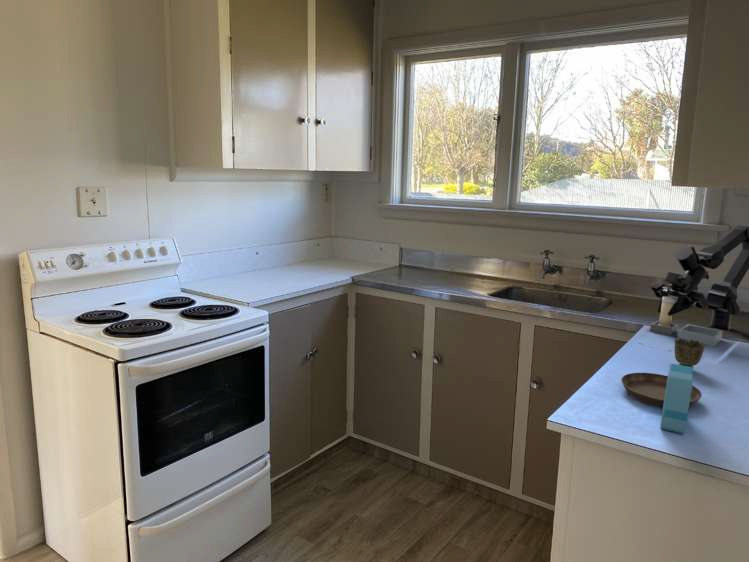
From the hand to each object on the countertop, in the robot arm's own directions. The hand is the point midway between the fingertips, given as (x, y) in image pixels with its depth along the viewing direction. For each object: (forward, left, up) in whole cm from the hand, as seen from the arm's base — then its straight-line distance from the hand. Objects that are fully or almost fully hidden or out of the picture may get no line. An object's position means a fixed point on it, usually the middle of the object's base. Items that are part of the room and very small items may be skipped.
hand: (663, 313), depth 191 cm
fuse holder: (-1, +1, -7) cm, 8 cm away
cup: (+32, +16, -8) cm, 36 cm away
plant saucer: (+59, +17, -8) cm, 62 cm away
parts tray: (-1, +12, -7) cm, 14 cm away
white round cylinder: (-1, +1, -6) cm, 6 cm away
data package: (+73, +24, -8) cm, 77 cm away
